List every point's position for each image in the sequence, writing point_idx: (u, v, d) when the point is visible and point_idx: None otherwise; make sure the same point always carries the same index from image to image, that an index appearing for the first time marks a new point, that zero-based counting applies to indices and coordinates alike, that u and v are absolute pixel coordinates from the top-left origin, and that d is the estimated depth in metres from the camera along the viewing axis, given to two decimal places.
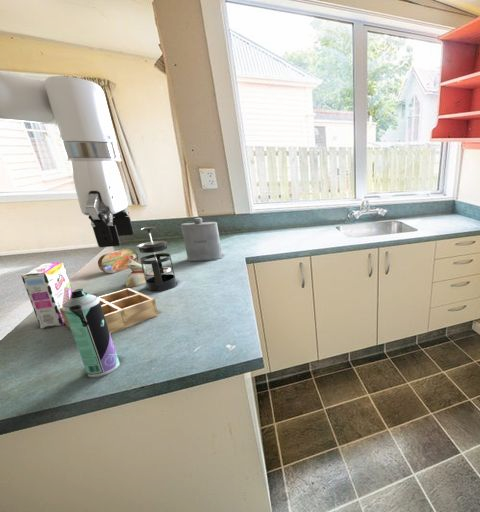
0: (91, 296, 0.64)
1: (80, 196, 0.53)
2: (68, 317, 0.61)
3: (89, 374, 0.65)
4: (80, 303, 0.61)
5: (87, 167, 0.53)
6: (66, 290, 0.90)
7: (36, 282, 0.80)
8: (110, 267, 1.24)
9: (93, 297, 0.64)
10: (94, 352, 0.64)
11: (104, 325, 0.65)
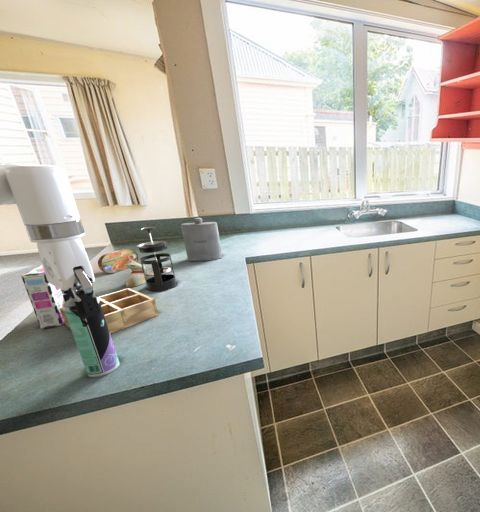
0: None
1: (64, 274, 0.56)
2: (68, 317, 0.61)
3: (89, 374, 0.65)
4: None
5: (69, 246, 0.57)
6: None
7: (36, 282, 0.80)
8: (110, 267, 1.24)
9: None
10: (94, 352, 0.64)
11: (104, 325, 0.65)
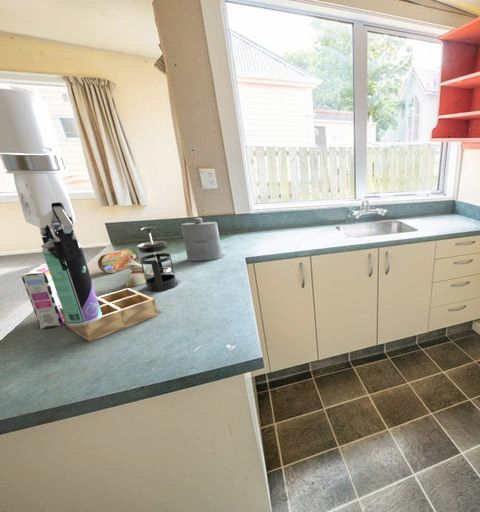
0: None
1: (41, 209, 0.53)
2: (47, 259, 0.58)
3: (69, 323, 0.63)
4: None
5: (47, 179, 0.54)
6: None
7: (36, 282, 0.80)
8: (110, 267, 1.24)
9: None
10: (74, 299, 0.61)
11: (86, 272, 0.62)
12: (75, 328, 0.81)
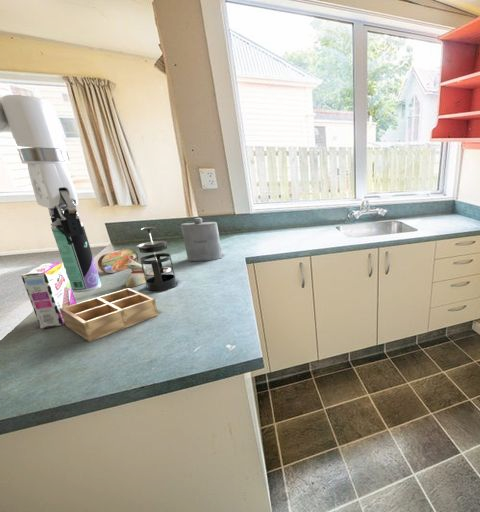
0: None
1: (50, 192, 0.66)
2: (55, 235, 0.70)
3: (74, 290, 0.75)
4: None
5: (55, 168, 0.66)
6: (66, 290, 0.90)
7: (36, 282, 0.80)
8: (110, 267, 1.24)
9: None
10: (78, 269, 0.74)
11: (87, 247, 0.75)
12: (75, 328, 0.81)
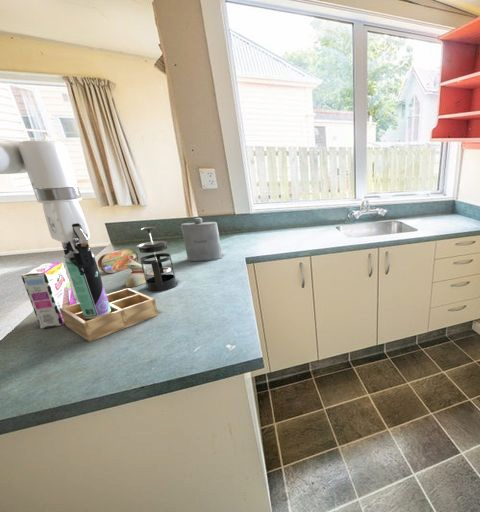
0: None
1: (64, 229, 0.70)
2: (68, 266, 0.75)
3: (85, 316, 0.79)
4: None
5: (69, 206, 0.71)
6: (66, 290, 0.90)
7: (36, 282, 0.80)
8: (110, 267, 1.24)
9: None
10: (89, 297, 0.78)
11: (98, 276, 0.79)
12: (75, 328, 0.81)
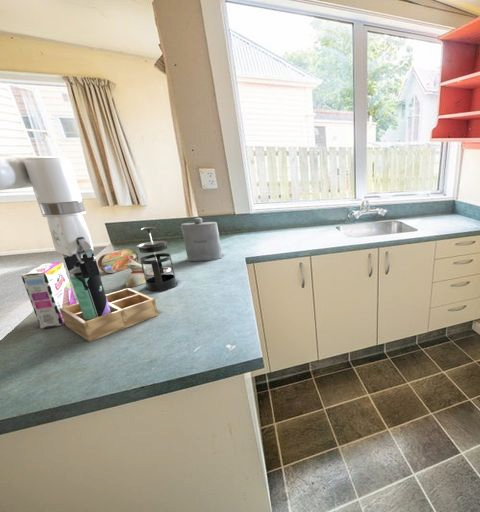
0: None
1: (69, 243, 0.71)
2: (73, 282, 0.76)
3: None
4: None
5: (73, 220, 0.72)
6: (66, 290, 0.90)
7: (36, 282, 0.80)
8: (110, 267, 1.24)
9: None
10: (93, 311, 0.79)
11: (102, 290, 0.81)
12: (75, 328, 0.81)
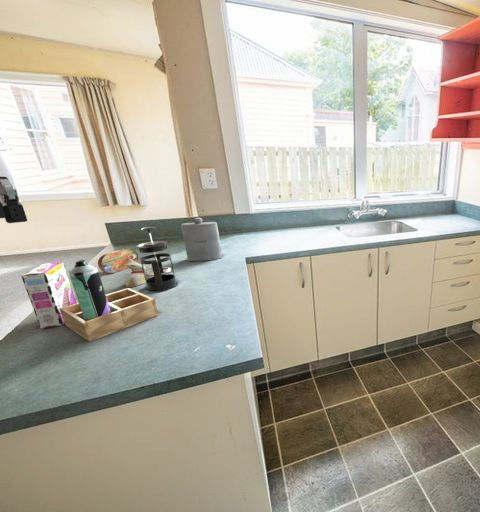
0: (91, 266, 0.79)
1: None
2: (73, 282, 0.76)
3: None
4: (83, 270, 0.76)
5: None
6: (66, 290, 0.90)
7: (36, 282, 0.80)
8: (110, 267, 1.24)
9: (93, 267, 0.79)
10: (93, 311, 0.79)
11: (102, 290, 0.81)
12: (75, 328, 0.81)
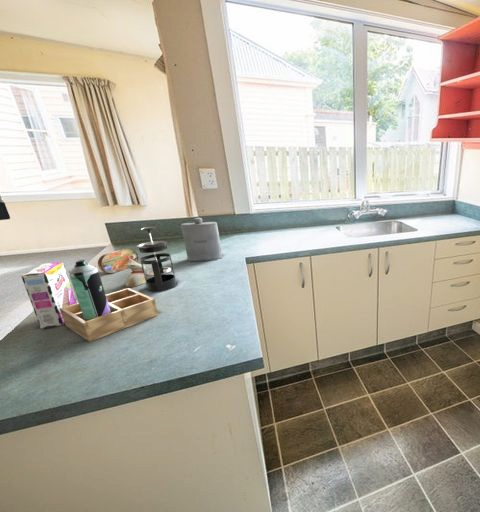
0: (91, 266, 0.79)
1: None
2: (73, 282, 0.76)
3: None
4: (83, 270, 0.76)
5: None
6: (66, 290, 0.90)
7: (36, 282, 0.80)
8: (110, 267, 1.24)
9: (93, 267, 0.79)
10: (93, 311, 0.79)
11: (102, 290, 0.81)
12: (75, 328, 0.81)
